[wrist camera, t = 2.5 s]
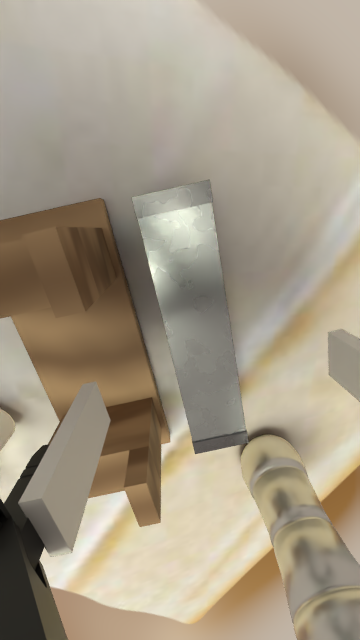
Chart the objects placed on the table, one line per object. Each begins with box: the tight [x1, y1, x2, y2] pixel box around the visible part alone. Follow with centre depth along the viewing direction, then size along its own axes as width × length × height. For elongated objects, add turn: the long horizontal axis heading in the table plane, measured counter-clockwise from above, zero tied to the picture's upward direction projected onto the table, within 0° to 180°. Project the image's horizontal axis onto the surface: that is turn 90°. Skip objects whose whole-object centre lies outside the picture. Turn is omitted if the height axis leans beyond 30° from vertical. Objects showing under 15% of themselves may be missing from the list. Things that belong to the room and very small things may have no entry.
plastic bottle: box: [241, 434, 360, 640], centre depth 21 cm, size 6×7×20 cm
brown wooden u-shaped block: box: [0, 198, 170, 527], centre depth 19 cm, size 24×10×10 cm, turn 12°
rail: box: [131, 180, 249, 454], centre depth 21 cm, size 20×5×6 cm, turn 12°
